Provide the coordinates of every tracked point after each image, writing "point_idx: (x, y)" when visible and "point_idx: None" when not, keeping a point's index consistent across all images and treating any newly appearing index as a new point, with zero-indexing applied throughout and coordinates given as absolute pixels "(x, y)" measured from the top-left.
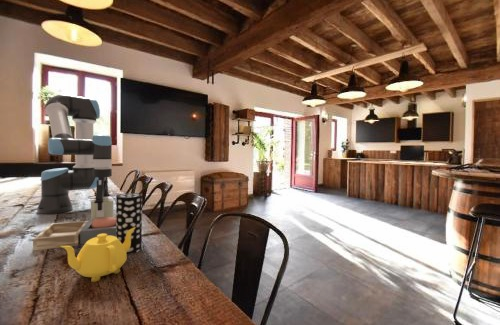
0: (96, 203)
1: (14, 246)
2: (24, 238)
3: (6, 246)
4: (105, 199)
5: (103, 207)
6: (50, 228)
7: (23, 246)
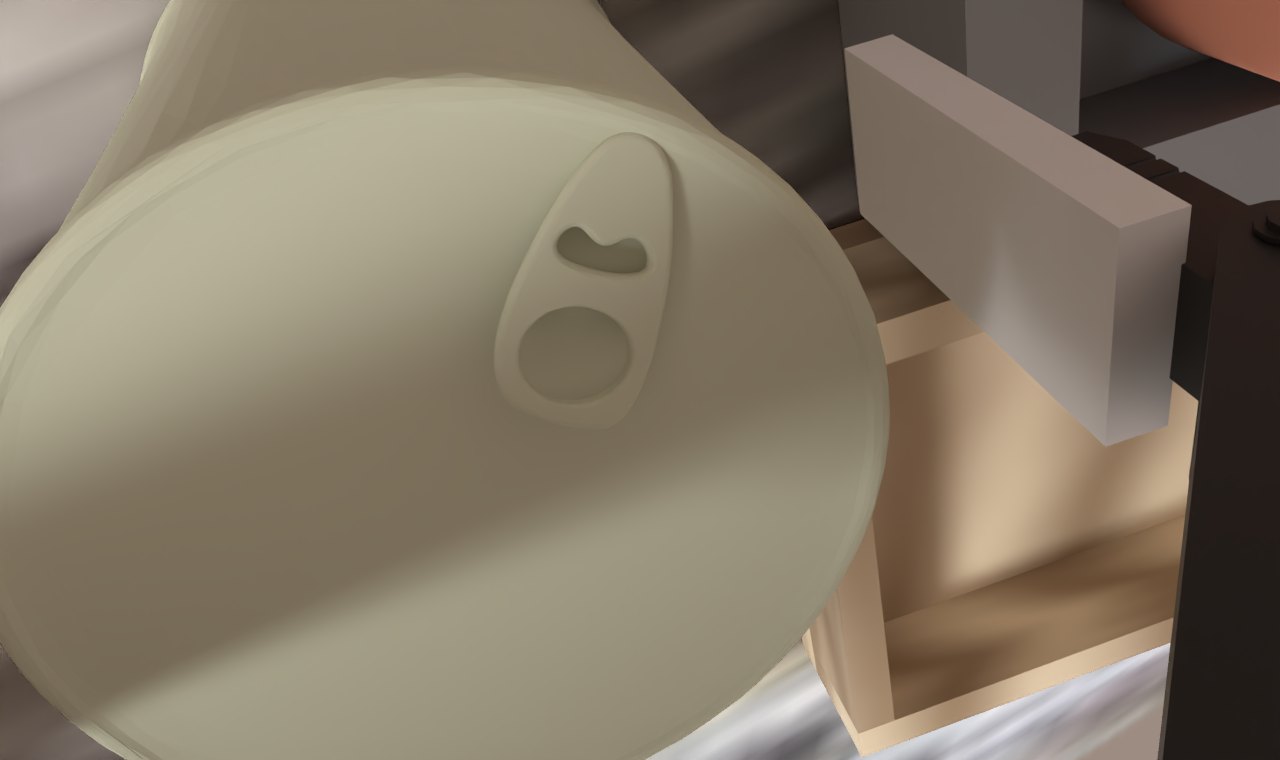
0: (1153, 410)
1: (1148, 669)
2: (932, 750)
3: (1120, 723)
4: (190, 534)
5: (1055, 131)
6: (1000, 654)
7: None
